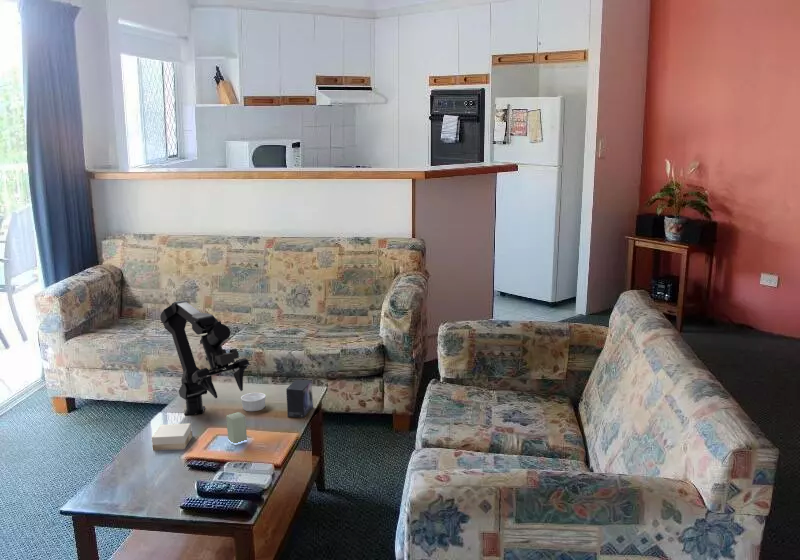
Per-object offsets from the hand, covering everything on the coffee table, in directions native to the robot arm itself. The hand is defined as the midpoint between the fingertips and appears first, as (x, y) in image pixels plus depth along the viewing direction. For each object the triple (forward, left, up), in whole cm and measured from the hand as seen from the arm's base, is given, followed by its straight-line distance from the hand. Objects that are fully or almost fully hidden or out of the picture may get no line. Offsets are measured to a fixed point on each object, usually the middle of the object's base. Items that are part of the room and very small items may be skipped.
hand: (229, 394), depth 246 cm
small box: (-15, +22, -14) cm, 30 cm away
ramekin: (-23, +5, -14) cm, 28 cm away
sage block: (+7, +2, -14) cm, 16 cm away
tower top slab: (+4, -19, -12) cm, 23 cm away
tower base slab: (+4, -19, -15) cm, 24 cm away
